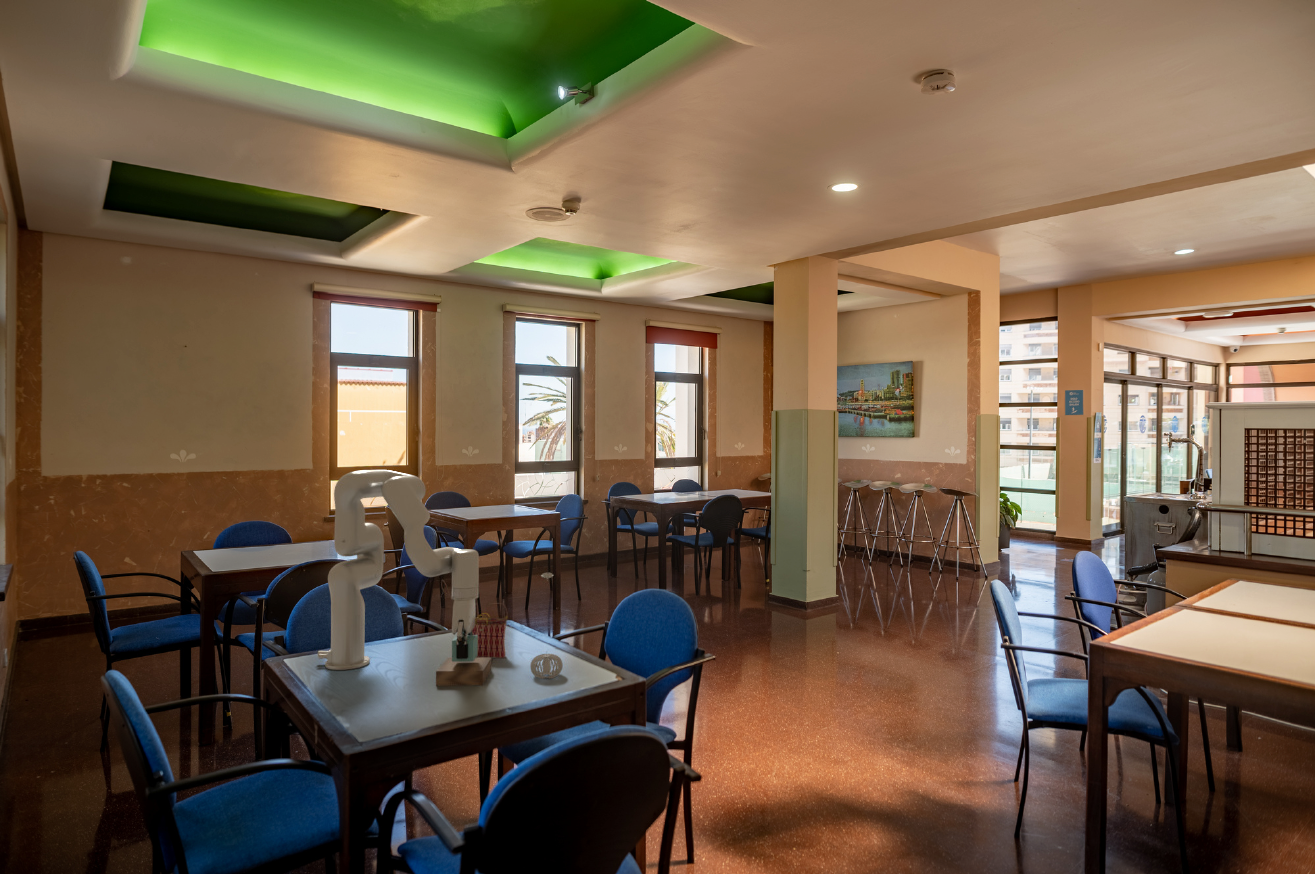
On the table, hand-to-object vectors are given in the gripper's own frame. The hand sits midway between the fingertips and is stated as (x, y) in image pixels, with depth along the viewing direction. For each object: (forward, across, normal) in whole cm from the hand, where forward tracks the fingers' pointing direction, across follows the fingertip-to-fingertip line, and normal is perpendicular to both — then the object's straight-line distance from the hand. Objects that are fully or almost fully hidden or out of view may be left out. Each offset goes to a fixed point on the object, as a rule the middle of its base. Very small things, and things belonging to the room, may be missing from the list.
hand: (464, 654), depth 212 cm
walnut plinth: (+7, 0, 0) cm, 7 cm away
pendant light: (+7, -1, +23) cm, 24 cm away
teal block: (+1, 0, 0) cm, 1 cm away
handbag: (+7, -20, -2) cm, 21 cm away
